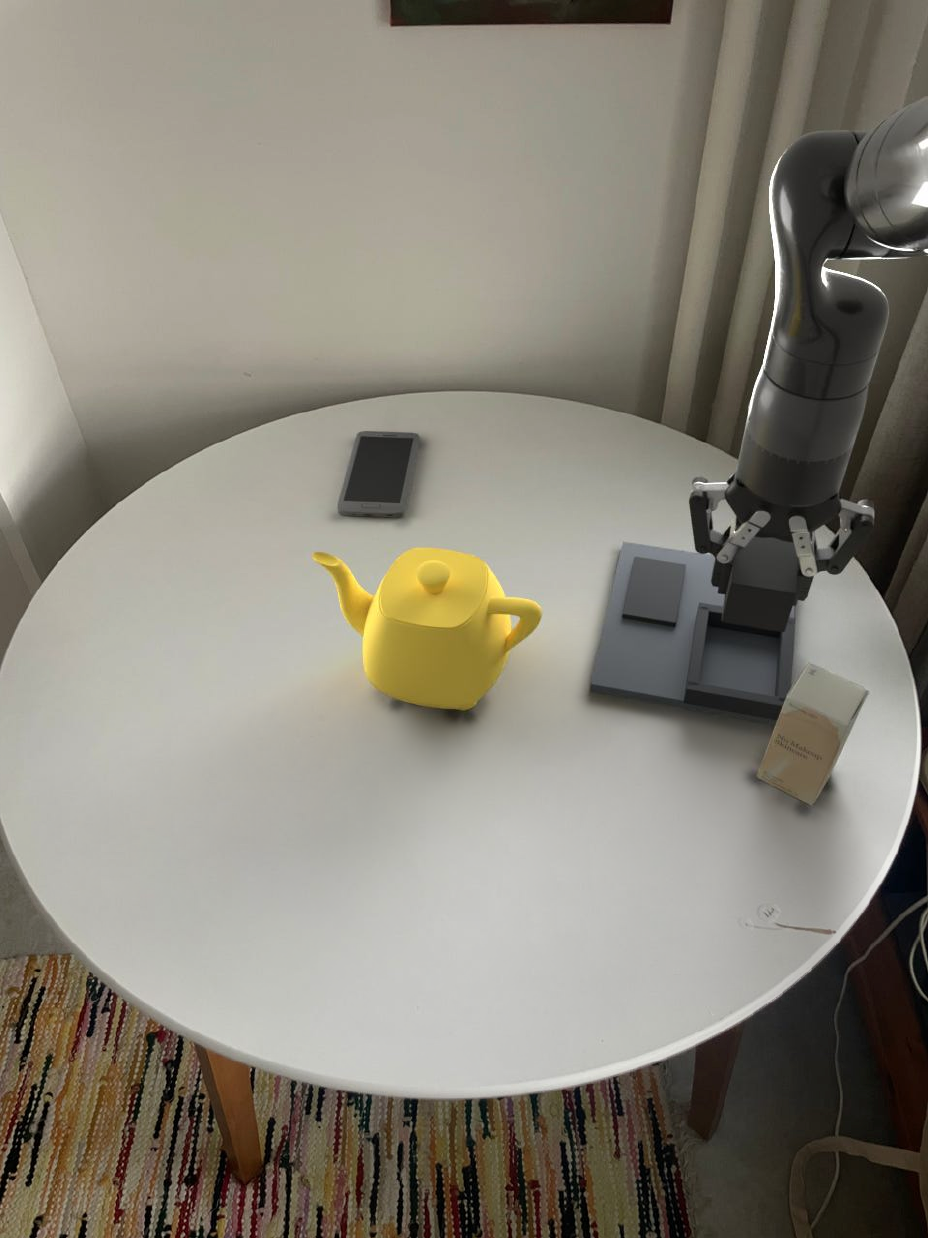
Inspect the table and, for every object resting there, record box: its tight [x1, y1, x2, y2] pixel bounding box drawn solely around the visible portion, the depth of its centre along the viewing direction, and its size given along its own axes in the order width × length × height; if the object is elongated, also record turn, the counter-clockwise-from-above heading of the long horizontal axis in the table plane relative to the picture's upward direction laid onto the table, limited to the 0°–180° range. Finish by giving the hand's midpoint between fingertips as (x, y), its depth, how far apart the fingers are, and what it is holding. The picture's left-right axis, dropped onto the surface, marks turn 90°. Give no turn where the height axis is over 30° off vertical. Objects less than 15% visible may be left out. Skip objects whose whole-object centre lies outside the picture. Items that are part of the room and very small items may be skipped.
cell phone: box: [337, 430, 421, 518], centre depth 112 cm, size 7×14×1 cm, turn 175°
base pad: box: [589, 541, 796, 726], centre depth 95 cm, size 17×19×3 cm
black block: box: [722, 537, 798, 632], centre depth 84 cm, size 5×7×4 cm
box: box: [756, 661, 870, 806], centre depth 81 cm, size 5×4×11 cm
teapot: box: [311, 546, 543, 711], centre depth 89 cm, size 13×20×12 cm
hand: (757, 592), depth 85 cm, fingers closed on black block, 5 cm apart
